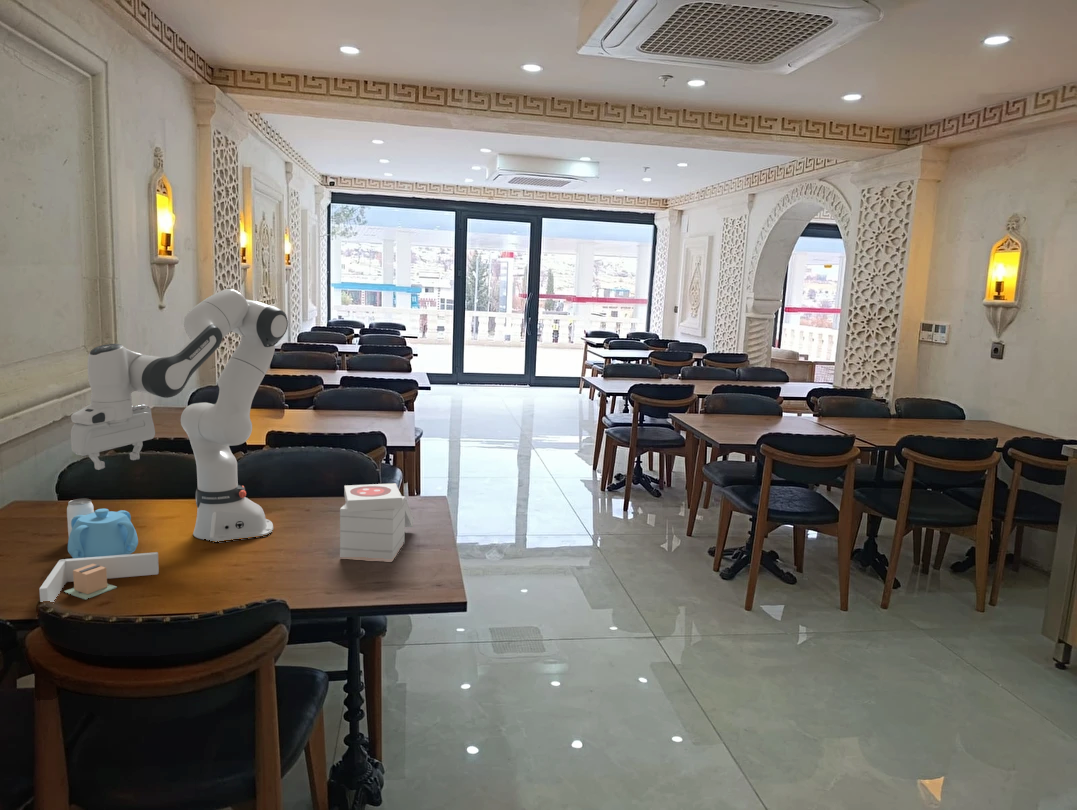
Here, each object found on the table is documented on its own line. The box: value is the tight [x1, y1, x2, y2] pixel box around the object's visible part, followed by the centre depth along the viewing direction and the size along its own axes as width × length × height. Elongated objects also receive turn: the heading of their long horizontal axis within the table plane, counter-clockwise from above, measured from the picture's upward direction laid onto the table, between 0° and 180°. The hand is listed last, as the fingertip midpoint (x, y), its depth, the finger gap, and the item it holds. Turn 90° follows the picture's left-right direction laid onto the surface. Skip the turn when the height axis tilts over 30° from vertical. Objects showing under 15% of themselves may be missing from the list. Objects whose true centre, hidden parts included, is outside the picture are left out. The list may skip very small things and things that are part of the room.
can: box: [66, 498, 95, 537], centre depth 211 cm, size 6×6×12 cm
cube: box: [73, 564, 108, 594], centre depth 181 cm, size 5×5×5 cm
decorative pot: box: [67, 508, 139, 559], centre depth 200 cm, size 16×16×14 cm
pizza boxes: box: [339, 482, 415, 559], centre depth 218 cm, size 19×30×18 cm, turn 177°
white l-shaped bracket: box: [38, 551, 160, 603], centre depth 181 cm, size 22×18×6 cm
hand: (117, 464), depth 186 cm, fingers open, 8 cm apart
